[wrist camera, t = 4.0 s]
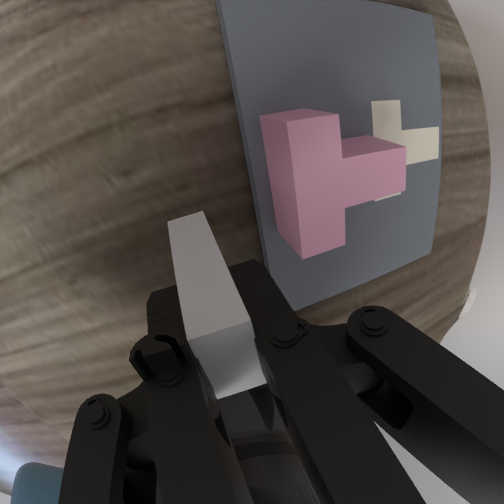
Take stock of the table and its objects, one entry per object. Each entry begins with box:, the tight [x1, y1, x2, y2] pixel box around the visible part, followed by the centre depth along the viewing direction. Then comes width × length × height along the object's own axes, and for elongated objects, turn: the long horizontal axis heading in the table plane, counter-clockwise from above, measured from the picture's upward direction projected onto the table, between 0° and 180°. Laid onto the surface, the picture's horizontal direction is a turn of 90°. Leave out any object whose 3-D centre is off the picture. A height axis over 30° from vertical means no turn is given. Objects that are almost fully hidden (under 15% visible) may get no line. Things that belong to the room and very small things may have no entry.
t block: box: [259, 108, 406, 259], centre depth 18 cm, size 8×8×4 cm
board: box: [215, 0, 442, 311], centre depth 21 cm, size 18×24×1 cm
